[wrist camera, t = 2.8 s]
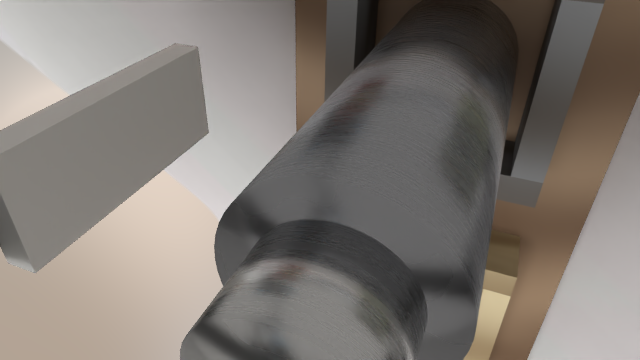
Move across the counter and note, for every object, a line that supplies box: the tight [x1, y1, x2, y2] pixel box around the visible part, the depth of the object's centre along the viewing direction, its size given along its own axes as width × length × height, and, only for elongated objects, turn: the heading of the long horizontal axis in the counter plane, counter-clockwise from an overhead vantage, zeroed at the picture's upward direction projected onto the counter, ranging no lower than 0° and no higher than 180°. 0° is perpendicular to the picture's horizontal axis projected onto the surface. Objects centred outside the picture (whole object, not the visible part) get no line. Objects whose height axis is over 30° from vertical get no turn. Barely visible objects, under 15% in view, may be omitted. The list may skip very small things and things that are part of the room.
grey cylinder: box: [180, 0, 519, 360], centre depth 12 cm, size 4×4×14 cm
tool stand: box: [295, 0, 640, 360], centre depth 20 cm, size 22×12×4 cm, turn 179°
